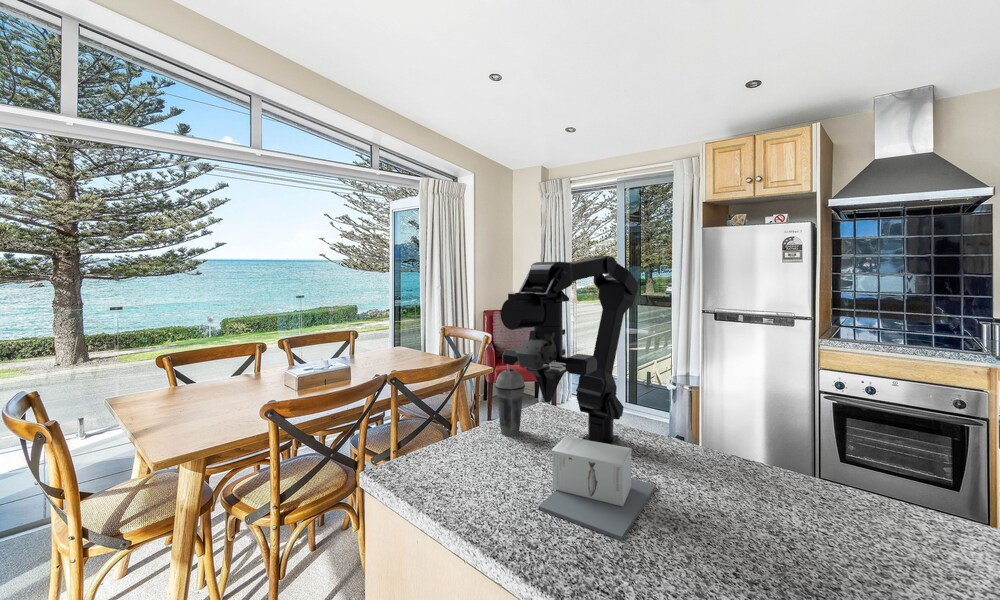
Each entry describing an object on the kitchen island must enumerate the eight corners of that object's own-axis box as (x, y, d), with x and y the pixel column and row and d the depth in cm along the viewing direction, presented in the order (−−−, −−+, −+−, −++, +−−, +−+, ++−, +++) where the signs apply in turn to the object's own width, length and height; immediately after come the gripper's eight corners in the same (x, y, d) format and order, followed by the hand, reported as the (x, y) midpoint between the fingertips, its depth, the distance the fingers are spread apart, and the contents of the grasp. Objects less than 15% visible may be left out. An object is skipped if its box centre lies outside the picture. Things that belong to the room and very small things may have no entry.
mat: (583, 467, 83) (583, 464, 83) (655, 488, 75) (655, 484, 75) (538, 509, 69) (538, 506, 69) (621, 540, 61) (621, 536, 61)
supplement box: (550, 449, 74) (623, 463, 68) (564, 435, 80) (632, 447, 74) (550, 490, 74) (623, 508, 68) (565, 472, 81) (632, 487, 74)
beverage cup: (530, 430, 103) (530, 350, 102) (515, 440, 97) (515, 355, 96) (505, 424, 107) (504, 347, 106) (489, 434, 101) (488, 352, 100)
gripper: (485, 326, 82) (486, 404, 83) (573, 333, 71) (572, 423, 72) (517, 320, 91) (517, 391, 92) (598, 326, 80) (597, 406, 81)
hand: (547, 402), depth 84 cm, fingers closed
